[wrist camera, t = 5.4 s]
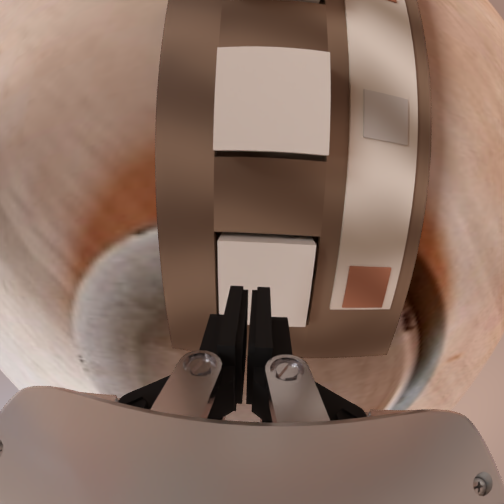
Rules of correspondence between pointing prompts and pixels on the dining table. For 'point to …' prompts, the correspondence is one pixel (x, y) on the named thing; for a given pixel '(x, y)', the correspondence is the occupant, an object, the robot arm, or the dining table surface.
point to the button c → (311, 0)
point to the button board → (298, 166)
